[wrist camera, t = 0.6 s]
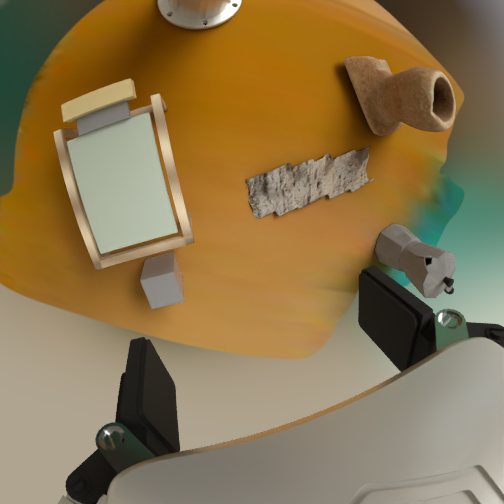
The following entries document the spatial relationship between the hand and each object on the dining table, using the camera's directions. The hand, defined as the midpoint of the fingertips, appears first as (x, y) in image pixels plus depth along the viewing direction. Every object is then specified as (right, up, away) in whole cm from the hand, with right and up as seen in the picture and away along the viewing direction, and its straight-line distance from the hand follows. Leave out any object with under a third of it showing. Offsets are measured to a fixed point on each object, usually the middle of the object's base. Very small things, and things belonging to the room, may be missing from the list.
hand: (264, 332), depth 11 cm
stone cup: (+22, +31, +29) cm, 48 cm away
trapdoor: (-15, +13, +16) cm, 26 cm away
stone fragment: (+10, +16, +33) cm, 38 cm away
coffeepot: (+29, +5, +43) cm, 52 cm away
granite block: (-15, +1, +33) cm, 36 cm away
